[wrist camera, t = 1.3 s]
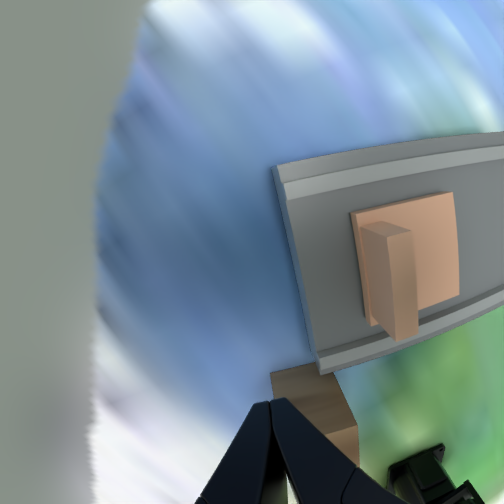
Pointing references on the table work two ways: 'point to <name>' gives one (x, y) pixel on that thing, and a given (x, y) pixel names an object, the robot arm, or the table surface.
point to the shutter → (406, 259)
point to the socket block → (376, 194)
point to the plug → (320, 404)
